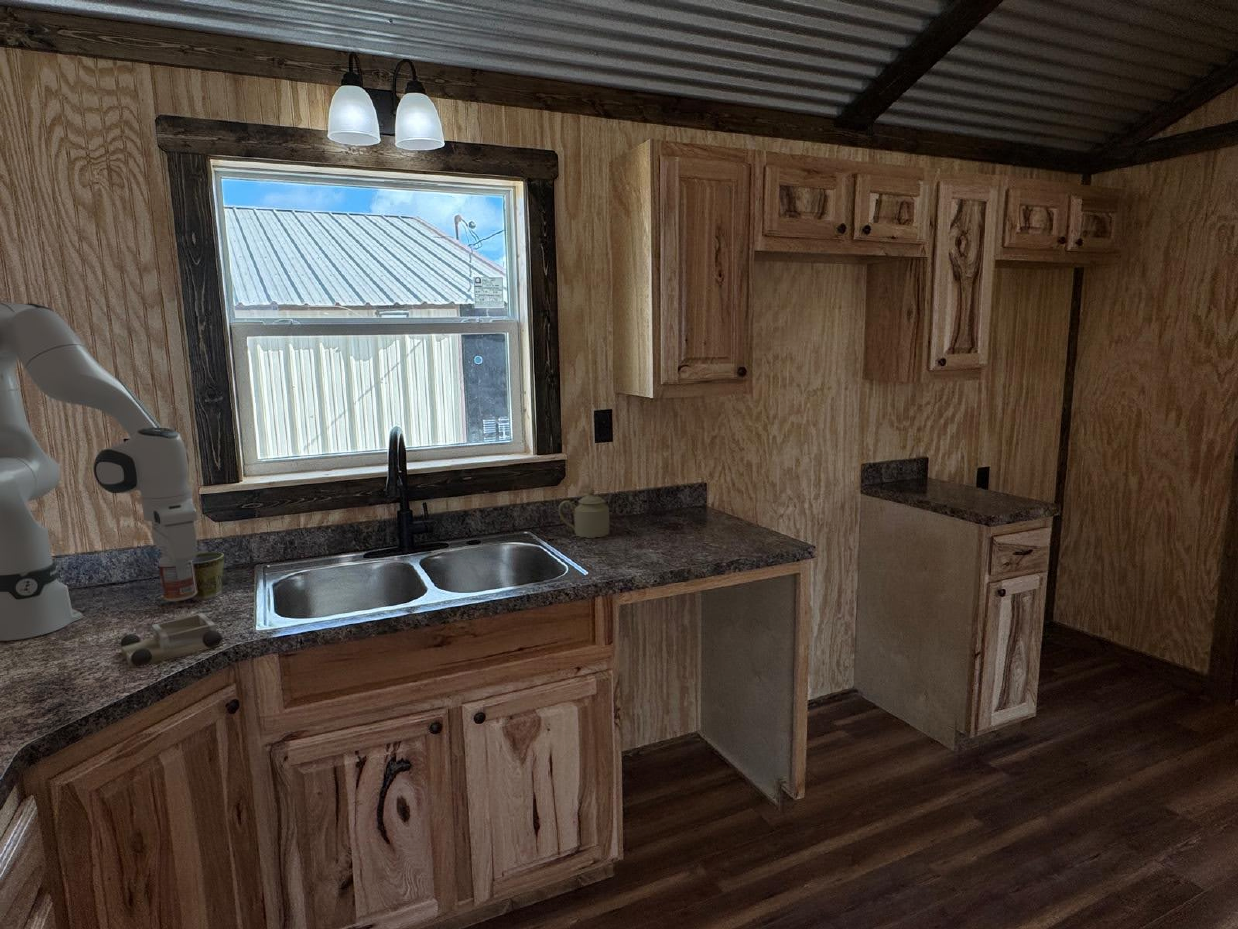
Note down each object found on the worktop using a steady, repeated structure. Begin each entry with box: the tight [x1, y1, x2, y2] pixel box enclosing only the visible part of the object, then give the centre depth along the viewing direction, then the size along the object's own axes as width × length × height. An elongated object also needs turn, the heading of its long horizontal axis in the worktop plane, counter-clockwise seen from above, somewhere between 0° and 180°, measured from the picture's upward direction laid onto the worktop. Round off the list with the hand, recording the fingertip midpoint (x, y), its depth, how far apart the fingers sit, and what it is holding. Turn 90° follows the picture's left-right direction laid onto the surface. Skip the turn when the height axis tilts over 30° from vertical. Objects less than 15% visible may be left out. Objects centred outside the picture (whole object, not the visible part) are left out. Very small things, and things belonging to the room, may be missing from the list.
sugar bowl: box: [558, 487, 610, 539], centre depth 236 cm, size 15×11×15 cm
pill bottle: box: [157, 546, 197, 602], centre depth 154 cm, size 6×6×11 cm
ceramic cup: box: [190, 551, 225, 601], centre depth 187 cm, size 13×10×10 cm
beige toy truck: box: [120, 612, 223, 669], centre depth 155 cm, size 11×16×4 cm
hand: (177, 574), depth 154 cm, fingers closed on pill bottle, 6 cm apart
